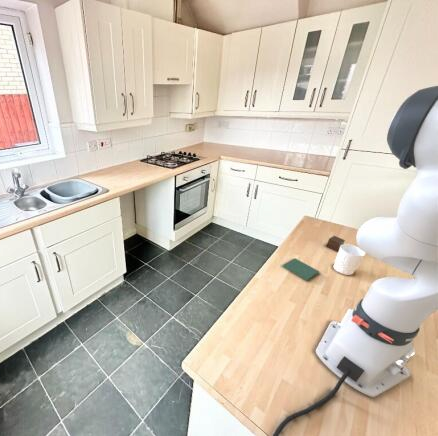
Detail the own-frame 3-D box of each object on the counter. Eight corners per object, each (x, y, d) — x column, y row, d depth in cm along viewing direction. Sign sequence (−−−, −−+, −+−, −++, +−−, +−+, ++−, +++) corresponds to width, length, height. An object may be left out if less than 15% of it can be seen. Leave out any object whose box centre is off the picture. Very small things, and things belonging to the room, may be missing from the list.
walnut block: (336, 251, 110) (340, 243, 108) (325, 246, 113) (329, 238, 111) (341, 248, 112) (345, 240, 110) (330, 243, 115) (334, 235, 113)
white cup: (354, 267, 100) (364, 247, 95) (356, 278, 94) (367, 258, 89) (331, 261, 104) (339, 242, 99) (331, 271, 98) (340, 251, 93)
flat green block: (307, 281, 94) (307, 278, 93) (282, 266, 101) (283, 264, 101) (318, 273, 97) (319, 271, 97) (294, 260, 105) (294, 258, 104)
